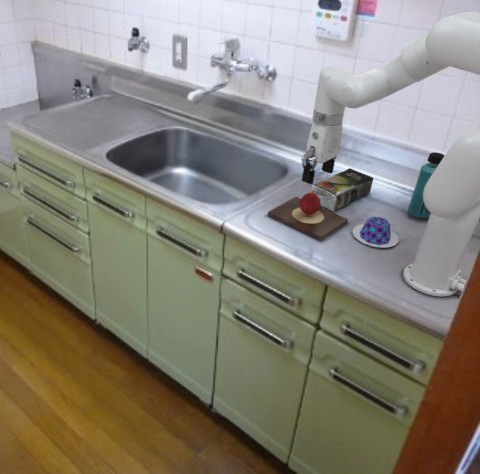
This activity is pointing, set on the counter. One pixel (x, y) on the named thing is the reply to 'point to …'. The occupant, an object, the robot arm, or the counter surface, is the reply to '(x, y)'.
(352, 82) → the robot arm
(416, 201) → the beverage bottle
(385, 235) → the pudding
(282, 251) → the counter surface
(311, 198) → the red round fruit
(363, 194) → the juice carton
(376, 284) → the counter surface
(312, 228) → the cutting board
